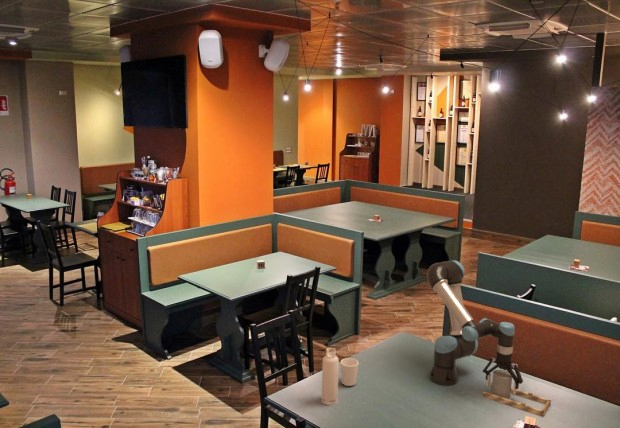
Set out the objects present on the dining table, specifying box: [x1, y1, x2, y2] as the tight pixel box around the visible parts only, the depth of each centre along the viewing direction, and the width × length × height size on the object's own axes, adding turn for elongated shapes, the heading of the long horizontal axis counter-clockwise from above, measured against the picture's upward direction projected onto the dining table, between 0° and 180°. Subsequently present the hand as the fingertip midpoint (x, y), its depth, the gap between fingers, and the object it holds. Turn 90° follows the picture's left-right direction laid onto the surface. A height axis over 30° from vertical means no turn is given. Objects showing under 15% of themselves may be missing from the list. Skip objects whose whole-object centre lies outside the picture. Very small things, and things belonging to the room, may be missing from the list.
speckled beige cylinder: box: [491, 369, 513, 400], centre depth 283 cm, size 10×10×12 cm
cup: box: [339, 357, 360, 388], centre depth 293 cm, size 10×10×13 cm
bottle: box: [321, 347, 340, 406], centre depth 273 cm, size 8×8×28 cm
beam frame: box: [482, 382, 552, 418], centre depth 279 cm, size 30×14×3 cm, turn 53°
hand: (501, 390), depth 284 cm, fingers open, 13 cm apart
